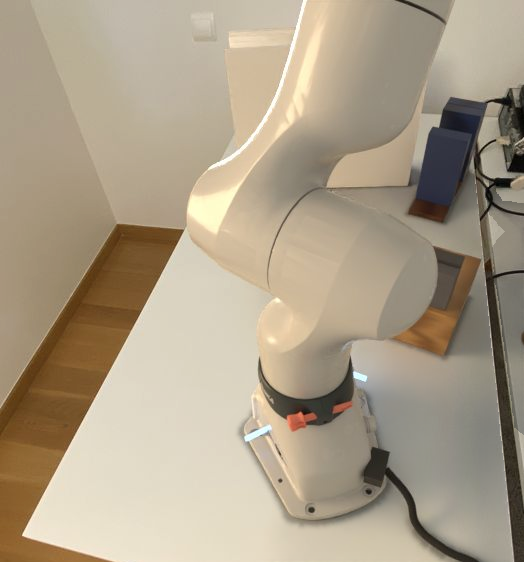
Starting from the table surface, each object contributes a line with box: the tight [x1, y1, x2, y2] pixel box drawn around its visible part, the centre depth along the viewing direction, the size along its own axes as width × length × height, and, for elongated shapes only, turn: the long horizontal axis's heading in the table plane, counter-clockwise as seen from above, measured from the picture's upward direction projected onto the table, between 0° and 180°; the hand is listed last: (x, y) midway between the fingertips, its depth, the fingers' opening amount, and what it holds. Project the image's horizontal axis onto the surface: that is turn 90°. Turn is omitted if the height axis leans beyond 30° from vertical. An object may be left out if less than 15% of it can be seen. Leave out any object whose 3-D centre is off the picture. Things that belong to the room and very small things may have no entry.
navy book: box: [414, 126, 472, 207], centre depth 94 cm, size 7×2×14 cm, turn 62°
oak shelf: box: [391, 245, 483, 357], centre depth 80 cm, size 10×14×9 cm
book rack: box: [407, 96, 489, 224], centre depth 96 cm, size 7×18×15 cm, turn 151°
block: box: [223, 26, 429, 189], centre depth 97 cm, size 35×8×28 cm, turn 86°
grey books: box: [429, 247, 465, 311], centre depth 71 cm, size 6×4×8 cm, turn 62°
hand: (514, 167), depth 86 cm, fingers open, 8 cm apart
